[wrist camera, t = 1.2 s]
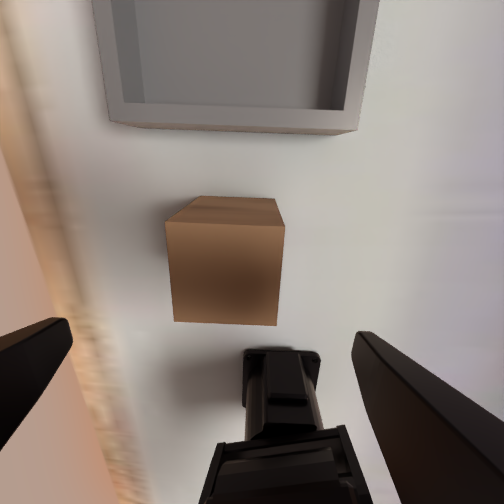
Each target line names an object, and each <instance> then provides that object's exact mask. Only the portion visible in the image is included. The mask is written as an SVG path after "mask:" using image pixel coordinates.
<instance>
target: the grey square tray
mask: <svg viewBox="0 0 504 504" xmlns="http://www.w3.org/2000/svg"><path fill="white" fill-rule="evenodd" d="M379 1H380V0H92V6H93V13H94V19H95V26H96V33H97V39H98V46H99V52H100V59H101V65H102V72H103V79H104V85H105V92H106V98H107V105H108V111H109V118H110V121H113V122H117V123H122V124H126V125H130V126H135V127H139V128H155V129H182V130H208V131H235V132H261V133H287V134H314V135H340V134H344V133H348V132H352V131H356V130H358V124H359V118H360V112H361V106H362V100H363V94H364V89H365V83H366V77H367V71H368V65H369V59H370V53H371V48H372V42H373V36H374V30H375V24H376V18H377V12H378V7H379Z"/></svg>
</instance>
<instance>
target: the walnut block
mask: <svg viewBox="0 0 504 504" xmlns="http://www.w3.org/2000/svg"><path fill="white" fill-rule="evenodd" d="M165 230H166V240H167V251H168V262H169V272H170V283H171V294H172V305H173V315H174V322H195V323H218V324H241V325H264V326H277V314H278V303H279V291H280V280H281V269H282V257H283V246H284V234H285V225H284V222H283V220H282V217H281V214H280V212H279V209H278V206H277V204H276V201H275V199H268V198H243V197H218V196H200V197H198V198H197V199H195V200H194V201H193V202H191V203H190V204H189V205H187V206H186V207H184V208H183V209H182V210H180V211H179V212H178V213H176V214H175V215H173V216H172V217H171V218H169V219H168V220H167V221H165Z"/></svg>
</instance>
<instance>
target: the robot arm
mask: <svg viewBox="0 0 504 504" xmlns="http://www.w3.org/2000/svg"><path fill="white" fill-rule="evenodd" d="M72 343H73V337H72V334H71V330H70V326H69V323H68V320H67V319H65V318H59V317H52V318H48V319H46V320H43V321H40V322H38V323H35V324H32V325H30V326H27V327H25V328H22V329H19V330H17V331H14V332H12V333H9V334H6V335H4V336H1V337H0V451H1V450H2V448H3V447H4V446H5V444H6V443H7V441H8V440H9V438H10V437H11V436H12V435H13V433H14V432H15V431H16V429H17V428H18V427H19V425H20V424H21V422H22V421H23V420H24V418H25V417H26V416H27V414H28V413H29V411H30V410H31V409H32V407H33V406H34V405H35V403H36V402H37V401H38V399H39V398H40V396H41V395H42V393H43V392H44V390H45V389H46V387H47V386H48V384H49V382H50V381H51V379H52V378H53V376H54V374H55V373H56V371H57V369H58V368H59V366H60V365H61V363H62V361H63V360H64V358H65V356H66V355H67V353H68V352H69V350H70V348H71V346H72ZM248 356H251V357H248ZM351 357H352V362H353V366H354V369H355V373H356V377H357V380H358V384H359V388H360V391H361V395H362V399H363V402H364V406H365V409H366V412H367V415H368V418H369V420H370V423H371V425H372V428H373V431H374V433H375V436H376V438H377V441H378V444H379V446H380V449H381V451H382V454H383V457H384V459H385V462H386V464H387V467H388V470H389V472H390V475H391V477H392V480H393V483H394V485H395V488H396V490H397V493H398V496H399V498H400V501H401V503H402V504H504V422H503V421H502V420H500V419H499V418H497V417H496V416H494V415H493V414H491V413H490V412H488V411H487V410H485V409H484V408H483V407H481V406H480V405H478V404H477V403H475V402H474V401H472V400H471V399H469V398H468V397H466V396H465V395H463V394H462V393H461V392H459V391H458V390H456V389H455V388H453V387H452V386H450V385H449V384H447V383H446V382H444V381H443V380H441V379H440V378H439V377H437V376H436V375H434V374H433V373H431V372H430V371H428V370H427V369H425V368H424V367H422V366H421V365H419V364H418V363H417V362H415V361H414V360H412V359H411V358H409V357H408V356H406V355H405V354H403V353H402V352H400V351H399V350H397V349H396V348H395V347H393V346H392V345H390V344H389V343H387V342H386V341H384V340H383V339H381V338H380V337H378V336H377V335H375V334H374V333H372V332H370V331H358V332H357V333H356V335H355V339H354V343H353V348H352V352H351ZM313 359H314V360H313ZM320 362H321V359H320V356H319V354H317V353H309V352H287V351H264V350H247V351H245V352H244V358H243V391H242V406H243V407H245V408H246V421H245V441H241V442H234V443H227V444H226V442H223V443H217V446H216V449H215V452H214V456H213V458H212V461H211V464H210V467H209V471H208V474H207V477H206V480H205V484H204V487H203V490H202V493H201V497H200V500H199V503H198V504H373V501H372V498H371V495H370V492H369V490H368V487H367V484H366V481H365V478H364V476H363V473H362V470H361V468H360V465H359V462H358V459H357V457H356V454H355V451H354V448H353V446H352V443H351V440H350V438H349V435H348V432H347V429H346V427H345V425H339V426H337V428H330V429H324V427H323V423H322V419H321V415H320V411H319V407H318V402H317V398H316V394H315V391H316V385H317V380H318V374H319V368H320Z"/></svg>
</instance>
